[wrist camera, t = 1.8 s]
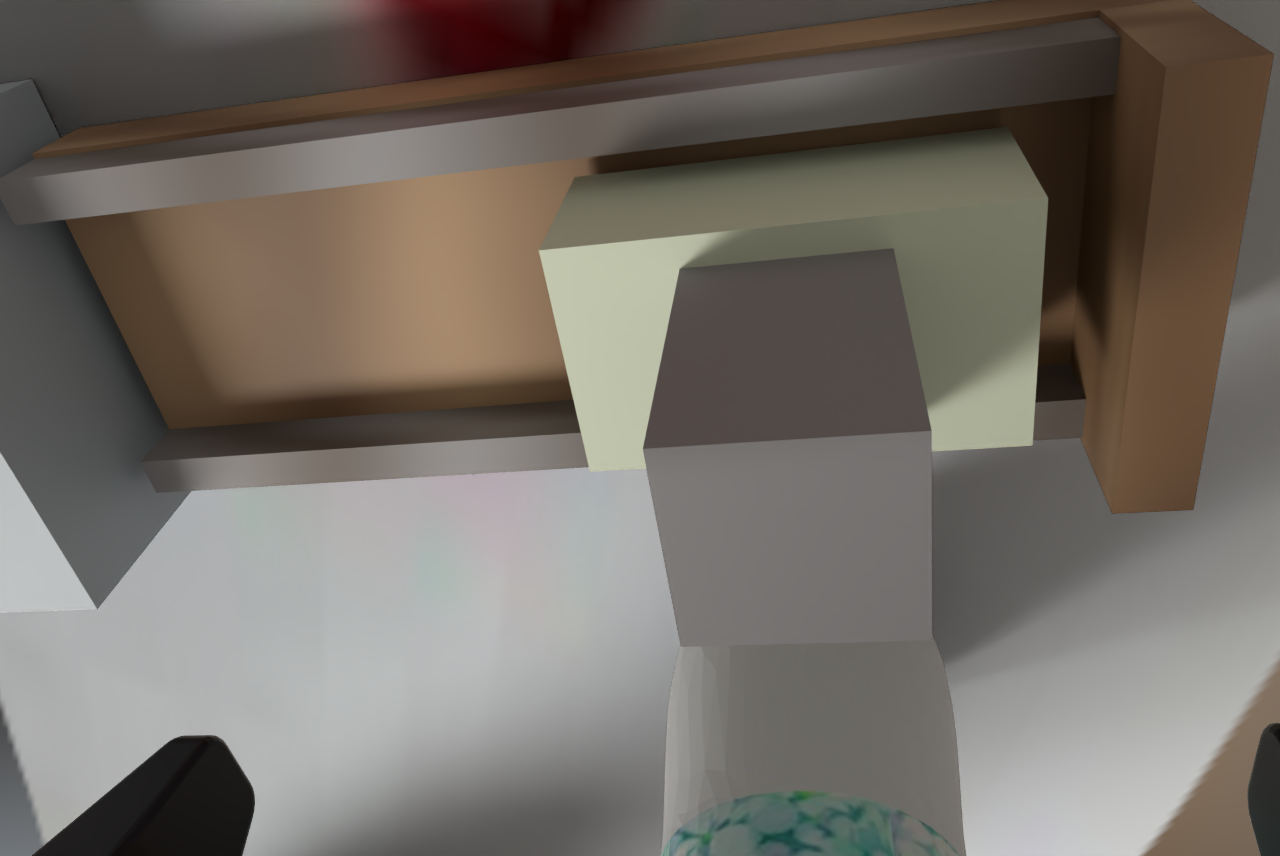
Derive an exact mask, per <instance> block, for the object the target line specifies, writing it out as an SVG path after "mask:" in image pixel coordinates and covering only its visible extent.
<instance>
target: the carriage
mask: <svg viewBox="0 0 1280 856" xmlns="http://www.w3.org/2000/svg"><path fill="white" fill-rule="evenodd" d="M1047 210H1048V197H1047V195H1046V193H1045V192H1044V190H1043V188H1042V186H1041V185H1040V183H1039V181H1038V179H1037V178H1036V176H1035V174H1034V172H1033V171H1032V169H1031V167H1030V165H1029V164H1028V162H1027V160H1026V158H1025V157H1024V155H1023V153H1022V151H1021V150H1020V148H1019V146H1018V144H1017V143H1016V141H1015V139H1014V137H1013V136H1012V134H1011V132H1010V130H1009V128H1008V127H1002V128H993V129H985V130H976V131H967V132H959V133H950V134H941V135H933V136H924V137H916V138H907V139H898V140H890V141H881V142H872V143H864V144H855V145H847V146H838V147H829V148H821V149H812V150H803V151H795V152H786V153H778V154H769V155H760V156H752V157H743V158H734V159H726V160H717V161H709V162H700V163H691V164H683V165H674V166H665V167H657V168H648V169H640V170H631V171H622V172H614V173H605V174H596V175H588V176H579V177H574V179H573V181H572V183H571V186H570V188H569V190H568V192H567V194H566V196H565V198H564V200H563V202H562V204H561V206H560V208H559V210H558V212H557V214H556V216H555V218H554V220H553V222H552V224H551V226H550V229H549V231H548V233H547V235H546V237H545V239H544V241H543V243H542V245H541V247H540V249H539V254H540V258H541V262H542V266H543V271H544V275H545V279H546V284H547V288H548V292H549V297H550V301H551V305H552V310H553V314H554V318H555V323H556V327H557V331H558V336H559V340H560V344H561V349H562V353H563V357H564V362H565V366H566V370H567V375H568V379H569V383H570V387H571V392H572V396H573V400H574V405H575V409H576V413H577V418H578V422H579V426H580V431H581V435H582V439H583V444H584V448H585V452H586V457H587V461H588V465H589V470H590V472H593V471H610V470H627V469H644V468H647V474H648V479H649V484H650V489H651V494H652V499H653V505H654V510H655V515H656V520H657V525H658V531H659V536H660V541H661V546H662V551H663V556H664V562H665V567H666V572H667V577H668V582H669V587H670V593H671V598H672V603H673V608H674V613H675V619H676V624H677V629H678V634H679V639H680V644H681V647H693V646H734V645H774V644H815V643H856V642H896V641H932V452H933V451H950V450H967V449H984V448H1001V447H1018V446H1033V430H1034V414H1035V399H1036V383H1037V367H1038V352H1039V336H1040V320H1041V305H1042V289H1043V273H1044V257H1045V242H1046V226H1047Z"/></svg>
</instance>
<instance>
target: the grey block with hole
mask: <svg viewBox="0 0 1280 856" xmlns="http://www.w3.org/2000/svg"><path fill="white" fill-rule="evenodd" d="M58 139H60V136H59V134H58V132H57V130H56V128H55V126H54V124H53V122H52V120H51V118H50V116H49V113H48V111H47V109H46V107H45V105H44V103H43V101H42V99H41V97H40V95H39V93H38V91H37V88H36V86H35V84H34V82H33V80H32V79H30V80H23V81H17V82H10V83H3V84H0V178H1V177H3V176H5V175H7V174H8V173H10V172H12V171H14V170H16V169H17V168H19V167H21V166H23V165H25V164H26V163H28V162H30V161H32V160H34V157H33V155H32V153H34V152H36V151H38V150H39V149H41V148H43V147H45V146H47V145H49V144H50V143H52V142H54V141H56V140H58ZM168 430H169V428H168V426H167V424H166V422H165V420H164V418H163V416H162V414H161V412H160V410H159V408H158V406H157V404H156V402H155V400H154V398H153V396H152V394H151V392H150V390H149V388H148V386H147V384H146V382H145V380H144V378H143V376H142V374H141V372H140V370H139V368H138V366H137V364H136V362H135V360H134V358H133V356H132V354H131V352H130V350H129V348H128V346H127V344H126V342H125V340H124V338H123V336H122V333H121V331H120V329H119V327H118V325H117V323H116V321H115V319H114V317H113V315H112V313H111V311H110V309H109V307H108V305H107V303H106V301H105V299H104V297H103V295H102V293H101V291H100V289H99V287H98V285H97V283H96V281H95V279H94V277H93V275H92V273H91V271H90V269H89V267H88V265H87V263H86V261H85V259H84V257H83V255H82V253H81V251H80V249H79V247H78V245H77V243H76V241H75V239H74V237H73V235H72V233H71V231H70V229H69V227H68V225H67V223H66V221H65V220H58V221H50V222H42V223H33V224H25V225H16V226H15V225H14V223H13V221H12V219H11V218H10V216H9V214H8V212H7V210H6V208H5V206H4V204H3V202H2V201H1V199H0V613H6V612H34V611H62V610H90V609H98V608H99V606H100V605H101V604H102V603H103V601H104V600H105V599H106V598H107V596H108V595H109V594H110V593H111V591H112V590H113V589H114V588H115V586H116V585H117V584H118V583H119V581H120V580H121V579H122V578H123V576H124V575H125V574H126V572H127V571H128V570H129V569H130V567H131V566H132V565H133V564H134V562H135V561H136V560H137V559H138V557H139V556H140V555H141V554H142V552H143V551H144V550H145V549H146V547H147V546H148V545H149V544H150V542H151V541H152V540H153V539H154V537H155V536H156V535H157V533H158V532H159V531H160V530H161V528H162V527H163V526H164V525H165V523H166V522H167V521H168V520H169V518H170V517H171V516H172V515H173V513H174V512H175V511H176V510H177V508H178V507H179V506H180V505H181V503H182V502H183V501H184V500H185V498H186V497H187V496H188V495H189V493H190V492H191V491H178V492H162V493H156V492H155V490H154V488H153V486H152V484H151V482H150V480H149V478H148V476H147V474H146V473H145V471H144V469H143V467H142V465H141V463H140V461H141V460H142V459H143V458H144V457H145V456H146V455H147V454H148V452H149V451H150V450H151V449H152V448H153V447H154V446H155V445H156V444H157V442H158V441H159V440H160V439H161V438H162V437H163V436H164V435H165V434H166V432H167V431H168Z"/></svg>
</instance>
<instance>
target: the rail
mask: <svg viewBox="0 0 1280 856" xmlns="http://www.w3.org/2000/svg"><path fill="white" fill-rule="evenodd" d="M1273 56H1274V54H1273V53H1271V52H1270V51H1268V50H1267V49H1265V48H1264V47H1262V46H1261V45H1259V44H1258V43H1256V42H1254V41H1253V40H1251V39H1250V38H1248V37H1247V36H1245V35H1244V34H1242V33H1240V32H1239V31H1237V30H1236V29H1234V28H1233V27H1231V26H1230V25H1228V24H1226V23H1225V22H1223V21H1222V20H1220V19H1219V18H1217V17H1216V16H1214V15H1212V14H1211V13H1209V12H1208V11H1206V10H1205V9H1203V8H1202V7H1200V6H1198V5H1197V4H1195V3H1194V2H1192V1H1191V0H997V1H990V2H983V3H975V4H968V5H961V6H954V7H946V8H939V9H932V10H925V11H918V12H910V13H903V14H896V15H889V16H882V17H874V18H867V19H860V20H853V21H846V22H838V23H831V24H824V25H817V26H810V27H802V28H795V29H788V30H781V31H773V32H766V33H759V34H752V35H745V36H737V37H730V38H723V39H716V40H709V41H701V42H694V43H687V44H680V45H673V46H665V47H658V48H651V49H644V50H637V51H629V52H622V53H615V54H608V55H600V56H593V57H586V58H579V59H572V60H564V61H557V62H550V63H543V64H536V65H528V66H521V67H514V68H507V69H500V70H492V71H485V72H478V73H471V74H464V75H456V76H449V77H442V78H435V79H427V80H420V81H413V82H406V83H399V84H391V85H384V86H377V87H370V88H363V89H355V90H348V91H341V92H334V93H327V94H319V95H312V96H305V97H298V98H291V99H283V100H276V101H269V102H262V103H254V104H247V105H240V106H233V107H226V108H218V109H211V110H204V111H197V112H190V113H182V114H175V115H168V116H161V117H154V118H146V119H139V120H132V121H125V122H118V123H110V124H103V125H96V126H89V127H81V128H78V129H76V130H74V131H72V132H71V133H69V134H67V135H65V136H63V137H61V138H60V139H58V140H56V141H54V142H52V143H50V144H49V145H47V146H45V147H43V148H41V149H39V150H38V151H36V152H34V153H32V155H33V157H34V160H32V161H30V162H28V163H26V164H25V165H23V166H21V167H19V168H17V169H16V170H14V171H12V172H10V173H8V174H7V175H5V176H3V177H1V178H0V199H1V201H2V202H3V204H4V206H5V208H6V210H7V212H8V214H9V216H10V218H11V219H12V221H13V223H14V225H15V226H16V225H25V224H33V223H42V222H50V221H58V220H65V221H66V223H67V225H68V227H69V229H70V231H71V233H72V235H73V237H74V239H75V241H76V243H77V245H78V247H79V249H80V251H81V253H82V255H83V257H84V259H85V261H86V263H87V265H88V267H89V269H90V271H91V273H92V275H93V277H94V279H95V281H96V283H97V285H98V287H99V289H100V291H101V293H102V295H103V297H104V299H105V301H106V303H107V305H108V307H109V309H110V311H111V313H112V315H113V317H114V319H115V321H116V323H117V325H118V327H119V329H120V331H121V333H122V336H123V338H124V340H125V342H126V344H127V346H128V348H129V350H130V352H131V354H132V356H133V358H134V360H135V362H136V364H137V366H138V368H139V370H140V372H141V374H142V376H143V378H144V380H145V382H146V384H147V386H148V388H149V390H150V392H151V394H152V396H153V398H154V400H155V402H156V404H157V406H158V408H159V410H160V412H161V414H162V416H163V418H164V420H165V422H166V424H167V426H168V428H169V430H168V431H167V432H166V434H165V435H164V436H163V437H162V438H161V439H160V440H159V441H158V442H157V444H156V445H155V446H154V447H153V448H152V449H151V450H150V451H149V452H148V454H147V455H146V456H145V457H144V458H143V459H142V460H141V461H140V463H141V465H142V467H143V469H144V471H145V473H146V474H147V476H148V478H149V480H150V482H151V484H152V486H153V488H154V490H155V492H156V493H162V492H178V491H195V490H212V489H229V488H245V487H262V486H279V485H296V484H312V483H329V482H346V481H363V480H379V479H396V478H413V477H430V476H446V475H463V474H480V473H497V472H513V471H530V470H547V469H564V468H580V467H589V465H588V461H587V457H586V452H585V448H584V444H583V439H582V435H581V431H580V426H579V422H578V418H577V413H576V409H575V405H574V400H573V396H572V392H571V387H570V383H569V379H568V375H567V370H566V366H565V362H564V357H563V353H562V349H561V344H560V340H559V336H558V331H557V327H556V323H555V318H554V314H553V310H552V305H551V301H550V297H549V292H548V288H547V284H546V279H545V275H544V271H543V266H542V262H541V258H540V254H539V249H540V247H541V245H542V243H543V241H544V239H545V237H546V235H547V233H548V231H549V229H550V226H551V224H552V222H553V220H554V218H555V216H556V214H557V212H558V210H559V208H560V206H561V204H562V202H563V200H564V198H565V196H566V194H567V192H568V190H569V188H570V186H571V183H572V181H573V179H574V177H579V176H588V175H596V174H605V173H614V172H622V171H631V170H640V169H648V168H657V167H665V166H674V165H683V164H691V163H700V162H709V161H717V160H726V159H734V158H743V157H752V156H760V155H769V154H778V153H786V152H795V151H803V150H812V149H821V148H829V147H838V146H847V145H855V144H864V143H872V142H881V141H890V140H898V139H907V138H916V137H924V136H933V135H941V134H950V133H959V132H967V131H976V130H985V129H993V128H1002V127H1008V128H1009V130H1010V132H1011V134H1012V136H1013V137H1014V139H1015V141H1016V143H1017V144H1018V146H1019V148H1020V150H1021V151H1022V153H1023V155H1024V157H1025V158H1026V160H1027V162H1028V164H1029V165H1030V167H1031V169H1032V171H1033V172H1034V174H1035V176H1036V178H1037V179H1038V181H1039V183H1040V185H1041V186H1042V188H1043V190H1044V192H1045V193H1046V195H1047V197H1048V210H1047V226H1046V242H1045V257H1044V273H1043V289H1042V305H1041V320H1040V336H1039V352H1038V367H1037V383H1036V399H1035V414H1034V430H1033V440H1049V439H1066V438H1080V439H1081V441H1082V443H1083V446H1084V448H1085V450H1086V453H1087V455H1088V458H1089V460H1090V462H1091V465H1092V467H1093V470H1094V472H1095V474H1096V477H1097V479H1098V481H1099V484H1100V486H1101V489H1102V491H1103V493H1104V496H1105V498H1106V501H1107V503H1108V505H1109V508H1110V510H1111V512H1112V514H1114V513H1136V512H1158V511H1179V510H1193V509H1194V503H1195V497H1196V492H1197V486H1198V480H1199V475H1200V469H1201V463H1202V458H1203V452H1204V446H1205V441H1206V435H1207V429H1208V424H1209V418H1210V412H1211V407H1212V401H1213V395H1214V390H1215V384H1216V379H1217V373H1218V367H1219V362H1220V356H1221V350H1222V345H1223V339H1224V333H1225V328H1226V322H1227V316H1228V311H1229V305H1230V299H1231V294H1232V288H1233V282H1234V277H1235V271H1236V266H1237V260H1238V254H1239V249H1240V243H1241V237H1242V232H1243V226H1244V220H1245V215H1246V209H1247V203H1248V198H1249V192H1250V186H1251V181H1252V175H1253V169H1254V164H1255V158H1256V152H1257V147H1258V141H1259V136H1260V130H1261V124H1262V119H1263V113H1264V107H1265V102H1266V96H1267V90H1268V85H1269V79H1270V73H1271V68H1272V62H1273Z"/></svg>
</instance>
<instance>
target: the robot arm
mask: <svg viewBox="0 0 1280 856" xmlns="http://www.w3.org/2000/svg"><path fill="white" fill-rule="evenodd" d="M1247 796H1248V797H1247V799H1248V809H1249V814H1250V818H1251V823H1252V826H1253V830H1254V833H1255V837H1256V840H1257V844H1258V848H1259V851H1260V855H1261V856H1280V723H1273V724H1270V725H1268V726H1267V727H1266V728H1265V729H1264V730H1263V732H1262V735H1261V738H1260V741H1259V745H1258V749H1257V753H1256V757H1255V761H1254V766H1253V769H1252V773H1251V777H1250V781H1249V785H1248V795H1247ZM254 806H255V797H254V791H253V787H252V785H251V783H250V782H249V780H248V778H247V777H246V775H245V774H244V772H243V770H242V769H241V767H240V766H239V764H238V762H237V761H236V759H235V757H234V756H233V754H232V753H231V751H230V749H229V748H228V746H227V745H226V743H225V742H224V741H223V740H222V739H221V738H219V737H217V736H213V735H195V736H180V737H177V738H175V739H173V740H171V741H169V742H168V743H167V744H165V745H164V746H163V747H162V748H160V749H159V750H158V751H157V752H156V753H154V754H153V755H152V756H151V757H150V758H148V759H147V760H146V761H145V762H144V763H142V764H141V765H140V766H139V767H138V768H136V769H135V770H134V771H133V772H132V773H130V774H129V775H128V776H127V777H126V778H124V779H123V780H122V781H121V782H120V783H118V784H117V785H116V786H115V787H114V788H112V789H111V790H110V791H109V792H108V793H106V794H105V795H104V796H103V797H102V798H100V799H99V800H98V801H97V802H96V803H94V804H93V805H92V806H91V807H90V808H88V809H87V810H86V811H85V812H84V813H82V814H81V815H80V816H79V817H78V818H76V819H75V820H74V821H73V822H72V823H70V824H69V825H68V826H67V827H66V828H64V829H63V830H62V831H61V832H60V833H58V834H57V835H56V836H55V837H54V838H52V839H51V840H50V841H49V842H48V843H46V844H45V845H44V846H43V847H42V848H40V849H39V850H38V851H37V852H36V853H35V854H33V855H32V856H242V855H243V851H244V848H245V844H246V840H247V836H248V833H249V829H250V825H251V822H252V818H253V813H254Z"/></svg>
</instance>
